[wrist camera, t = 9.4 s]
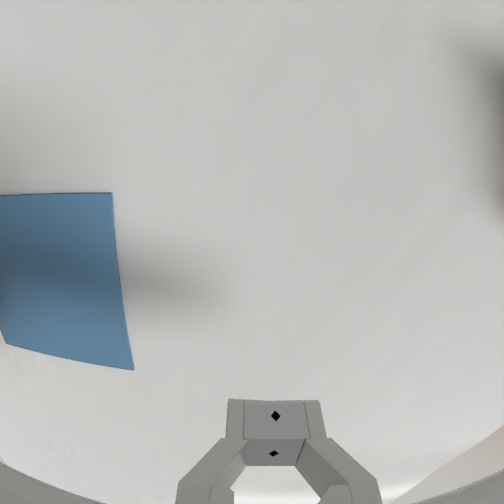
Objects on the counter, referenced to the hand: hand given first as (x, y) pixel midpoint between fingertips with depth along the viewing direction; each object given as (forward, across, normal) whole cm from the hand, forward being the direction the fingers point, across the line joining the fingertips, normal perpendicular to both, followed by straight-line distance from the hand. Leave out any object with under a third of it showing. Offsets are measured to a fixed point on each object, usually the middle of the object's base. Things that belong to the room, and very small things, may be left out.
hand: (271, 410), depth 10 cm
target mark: (+8, +14, +1) cm, 17 cm away
